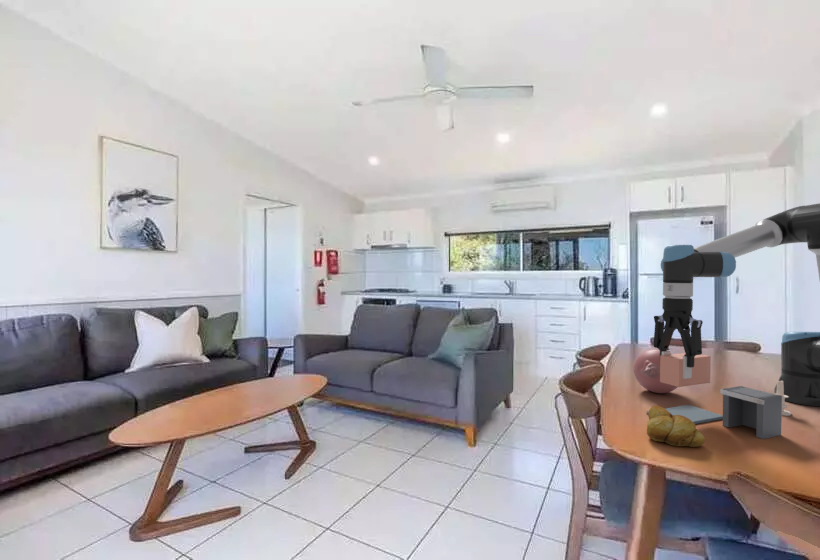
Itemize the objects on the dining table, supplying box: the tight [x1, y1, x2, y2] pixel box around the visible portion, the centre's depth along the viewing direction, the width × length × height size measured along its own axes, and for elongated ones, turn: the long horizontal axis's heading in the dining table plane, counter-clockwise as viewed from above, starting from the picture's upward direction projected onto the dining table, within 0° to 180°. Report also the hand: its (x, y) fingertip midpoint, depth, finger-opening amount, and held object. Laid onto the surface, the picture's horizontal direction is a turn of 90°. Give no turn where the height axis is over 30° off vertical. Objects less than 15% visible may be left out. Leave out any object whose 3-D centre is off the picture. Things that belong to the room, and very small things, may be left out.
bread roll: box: [646, 404, 706, 448], centre depth 107 cm, size 13×10×8 cm
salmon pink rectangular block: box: [660, 352, 712, 388], centre depth 125 cm, size 13×6×8 cm, turn 110°
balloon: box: [633, 348, 678, 394], centre depth 148 cm, size 15×20×15 cm
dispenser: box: [719, 385, 783, 440], centre depth 114 cm, size 8×10×10 cm
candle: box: [776, 380, 792, 417], centre depth 128 cm, size 5×5×10 cm
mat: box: [646, 404, 723, 425], centre depth 125 cm, size 18×11×1 cm, turn 110°
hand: (676, 375), depth 124 cm, fingers closed on salmon pink rectangular block, 6 cm apart
